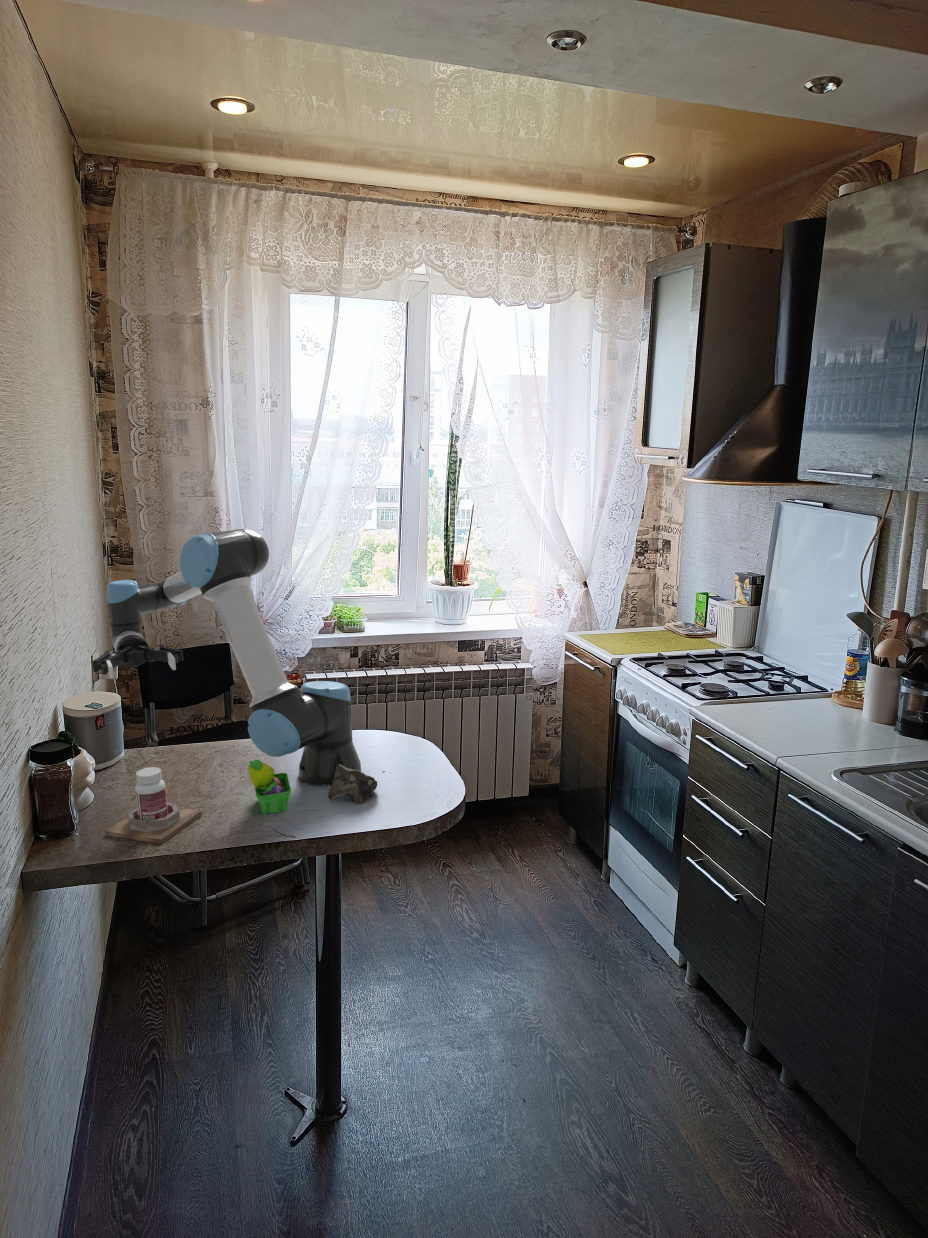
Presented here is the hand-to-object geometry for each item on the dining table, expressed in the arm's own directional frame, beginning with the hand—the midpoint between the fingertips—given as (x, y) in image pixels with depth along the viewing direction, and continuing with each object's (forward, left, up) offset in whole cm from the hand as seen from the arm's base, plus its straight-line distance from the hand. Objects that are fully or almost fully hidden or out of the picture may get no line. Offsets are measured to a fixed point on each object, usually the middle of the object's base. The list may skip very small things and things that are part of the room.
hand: (143, 668), depth 196 cm
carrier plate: (-12, +16, -30) cm, 36 cm away
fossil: (-47, -10, -30) cm, 57 cm away
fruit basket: (-31, 0, -30) cm, 43 cm away
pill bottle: (-12, +16, -29) cm, 35 cm away
